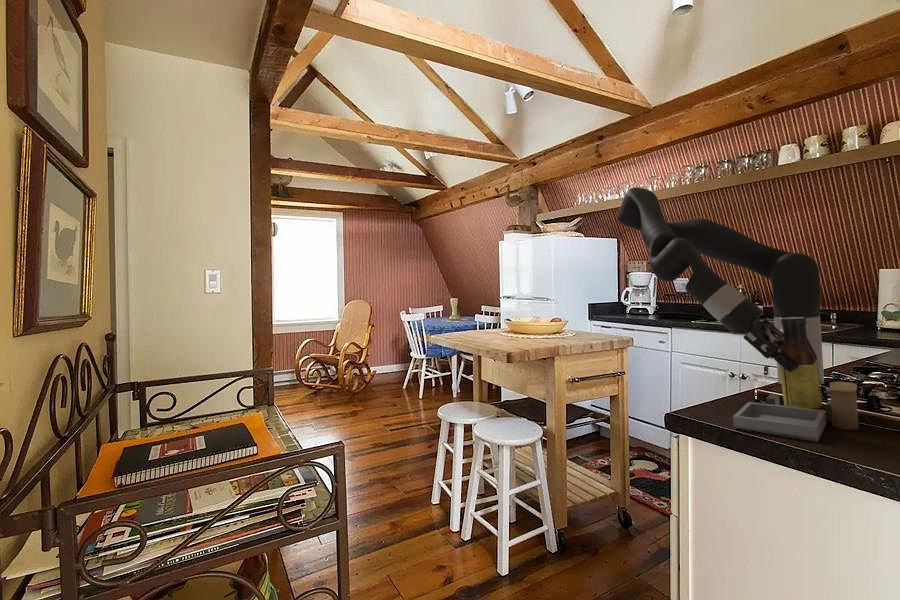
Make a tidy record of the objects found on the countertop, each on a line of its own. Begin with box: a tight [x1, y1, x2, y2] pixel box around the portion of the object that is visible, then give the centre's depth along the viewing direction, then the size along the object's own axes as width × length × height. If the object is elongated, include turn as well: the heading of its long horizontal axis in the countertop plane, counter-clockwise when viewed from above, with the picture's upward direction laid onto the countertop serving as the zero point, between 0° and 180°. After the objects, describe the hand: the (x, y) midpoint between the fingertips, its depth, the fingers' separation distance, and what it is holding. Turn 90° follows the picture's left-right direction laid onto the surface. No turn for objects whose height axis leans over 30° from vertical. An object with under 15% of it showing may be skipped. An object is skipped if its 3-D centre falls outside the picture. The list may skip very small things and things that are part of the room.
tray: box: [732, 401, 828, 443], centre depth 85 cm, size 12×13×2 cm
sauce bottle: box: [780, 317, 823, 410], centre depth 90 cm, size 7×6×20 cm
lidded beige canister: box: [828, 381, 859, 431], centre depth 82 cm, size 4×4×8 cm
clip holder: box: [765, 393, 832, 422], centre depth 91 cm, size 5×13×3 cm, turn 44°
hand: (797, 364), depth 91 cm, fingers open, 8 cm apart
